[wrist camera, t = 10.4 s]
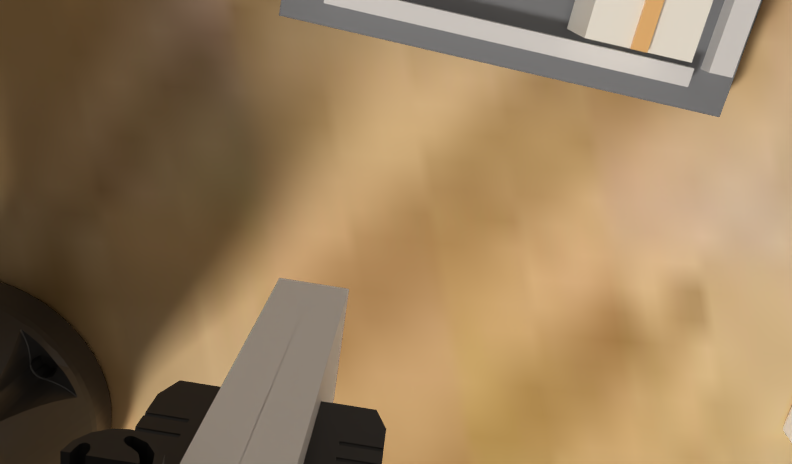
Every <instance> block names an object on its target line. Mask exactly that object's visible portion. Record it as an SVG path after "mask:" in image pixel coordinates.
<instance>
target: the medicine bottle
mask: <svg viewBox="0 0 792 464" xmlns="http://www.w3.org/2000/svg"><path fill="white" fill-rule="evenodd" d="M783 431H784V433H785V434H786V436H787V437H788V439H789V440H790V441H791V443H792V407H791V409H790V411H789V414H788V416H787V418H786V421H785V423H784V426H783Z"/></svg>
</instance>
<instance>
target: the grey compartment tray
mask: <svg viewBox="0 0 792 464" xmlns="http://www.w3.org/2000/svg"><path fill="white" fill-rule="evenodd" d="M762 1H763V0H713V3H712V6H711V8H710V11H709V14H708V17H707V20H706V23H705V26H704V29H703V32H702V34H701V37H700V40H699V43H698V46H697V49H696V52H695V55H694V57H693V60H692V63H690V62H686V61H682V60H677V59H673V58H669V57H664V56H660V55H656V54H651V53H646V52H642V51H637V50H633V49H630V48H625V47H621V46H617V45H612V44H608V43H604V42H599V41H595V40H591V39H586V38H583V37H582V36H580V35H578V34H576V33H574V32H572V31H570V30H568V29H567V27H568V23H569V20H570V16H571V13H572V9H573V6H574V2H575V0H281V6H280V12H279V15H280V16H284V17H288V18H293V19H297V20H301V21H306V22H310V23H314V24H319V25H323V26H327V27H332V28H336V29H340V30H345V31H349V32H353V33H358V34H362V35H366V36H371V37H375V38H379V39H384V40H388V41H392V42H397V43H401V44H405V45H409V46H414V47H418V48H422V49H427V50H431V51H435V52H440V53H444V54H448V55H453V56H457V57H461V58H466V59H470V60H474V61H479V62H483V63H487V64H492V65H496V66H500V67H505V68H509V69H513V70H518V71H522V72H526V73H531V74H535V75H539V76H544V77H548V78H552V79H556V80H561V81H565V82H569V83H574V84H578V85H582V86H587V87H591V88H595V89H600V90H604V91H608V92H613V93H617V94H621V95H626V96H630V97H634V98H639V99H643V100H647V101H652V102H656V103H660V104H665V105H669V106H673V107H678V108H682V109H686V110H691V111H695V112H699V113H703V114H708V115H712V116H716V117H720V114H721V111H722V109H723V106H724V103H725V101H726V98H727V95H728V93H729V90H730V87H731V84H732V82H733V79H734V76H735V74H736V71H737V68H738V65H739V63H740V60H741V57H742V55H743V52H744V49H745V47H746V44H747V41H748V38H749V36H750V33H751V30H752V28H753V25H754V22H755V19H756V17H757V14H758V11H759V9H760V6H761V3H762Z"/></svg>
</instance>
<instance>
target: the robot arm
mask: <svg viewBox="0 0 792 464" xmlns="http://www.w3.org/2000/svg"><path fill="white" fill-rule="evenodd" d="M348 292H349V289H346V288H339V287H333V286H327V285H321V284H314V283H308V282H302V281H296V280H289V279H283V278H279V280H278V282H277V284H276V285H275V287H274V289H273V291H272V293H271V295H270V297H269V298H268V300H267V302H266V304H265V306H264V308H263V310H262V312H261V313H260V315H259V317H258V319H257V321H256V323H255V325H254V326H253V328H252V330H251V332H250V334H249V336H248V338H247V339H246V341H245V343H244V345H243V347H242V349H241V351H240V352H239V354H238V356H237V358H236V360H235V362H234V364H233V365H232V367H231V369H230V371H229V373H228V375H227V377H226V378H225V380H224V382H223V384H222V386H221V387H217V386H211V385H205V384H199V383H193V382H186V381H178V382H177V383H175V384H173V385H172V386H170V387H169V388H167V389H165V390H164V391H162V392H161V393H159V394H158V395H157V396H156V398H155V399H154V401H153V402H152V404H151V405H150V406H149V408H148V409H147V411H146V413H145V416H143V417H142V418H141V420H140V421H139V423H138V424H137V426H136V428H135V431H134V430H130V429H111V418H112V415H111V402H110V396H109V391H108V387H107V384H106V381H105V378H104V375H103V373H102V371H101V368H100V366H99V364H98V362H97V360H96V358H95V357H94V355H93V353H92V352H91V350H90V349H89V347H88V346H87V344H86V343H85V342H84V340H83V339H82V338H81V337H80V335H79V334H78V333H77V332H76V331H75V330H74V329H73V328H72V326H71V325H70V324H69V323H68V322H66V321H65V320H64V319H63V318H62V317H61V316H60V315H59V314H57V313H56V312H55V311H54V310H52V309H51V308H50V307H48V306H47V305H46V304H44V303H42V302H41V301H39V300H38V299H36V298H34V297H33V296H31V295H29V294H27V293H25V292H23V291H21V290H19V289H17V288H14V287H12V286H10V285H7V284H4V283H1V282H0V464H382V457H383V449H384V441H385V433H386V428H385V426H384V424H383V422H382V420H381V418H380V416H379V414H378V412H377V410H373V409H367V408H361V407H354V406H348V405H342V404H336V403H333V400H334V394H335V386H336V379H337V372H338V365H339V357H340V350H341V343H342V336H343V329H344V321H345V314H346V307H347V300H348Z"/></svg>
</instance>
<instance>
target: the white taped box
mask: <svg viewBox="0 0 792 464" xmlns="http://www.w3.org/2000/svg"><path fill="white" fill-rule="evenodd" d="M712 3H713V0H575V2H574V6H573V9H572V13H571V16H570V20H569V23H568V27H567V29H568V30H570V31H572V32H574V33H576V34H578V35H580V36H582V37H583V38H586V39H591V40H595V41H599V42H604V43H608V44H612V45H617V46H621V47H625V48H630V49H633V50H637V51H642V52H646V53H651V54H656V55H660V56H664V57H669V58H673V59H677V60H682V61H686V62H690V63H692V60H693V57H694V55H695V52H696V49H697V46H698V43H699V40H700V37H701V34H702V32H703V29H704V26H705V23H706V20H707V17H708V14H709V11H710V8H711V6H712Z"/></svg>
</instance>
